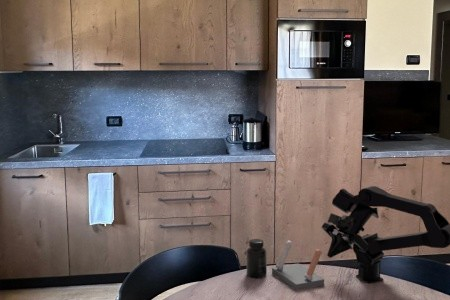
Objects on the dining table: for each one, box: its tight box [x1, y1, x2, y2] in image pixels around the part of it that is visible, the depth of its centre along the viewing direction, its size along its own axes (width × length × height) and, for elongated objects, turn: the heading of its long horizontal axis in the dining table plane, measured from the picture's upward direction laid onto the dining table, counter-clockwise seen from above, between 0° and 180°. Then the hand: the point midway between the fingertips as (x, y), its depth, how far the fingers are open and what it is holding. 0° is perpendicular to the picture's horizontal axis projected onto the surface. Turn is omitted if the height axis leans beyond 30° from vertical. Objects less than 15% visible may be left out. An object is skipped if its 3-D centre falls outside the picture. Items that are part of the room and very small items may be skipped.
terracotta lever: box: [304, 248, 323, 281], centre depth 147 cm, size 2×2×10 cm
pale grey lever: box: [275, 240, 293, 270], centre depth 156 cm, size 2×2×10 cm
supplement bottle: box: [245, 238, 268, 279], centre depth 156 cm, size 7×7×12 cm
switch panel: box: [271, 263, 325, 292], centre depth 153 cm, size 10×16×2 cm
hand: (328, 256), depth 150 cm, fingers closed
